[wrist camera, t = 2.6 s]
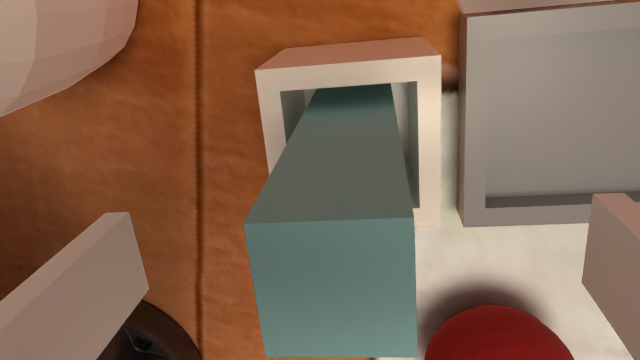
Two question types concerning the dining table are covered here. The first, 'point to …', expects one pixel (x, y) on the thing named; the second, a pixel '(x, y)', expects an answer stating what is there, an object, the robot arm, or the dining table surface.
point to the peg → (337, 234)
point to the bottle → (57, 44)
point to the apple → (495, 337)
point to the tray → (547, 112)
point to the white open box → (364, 69)
